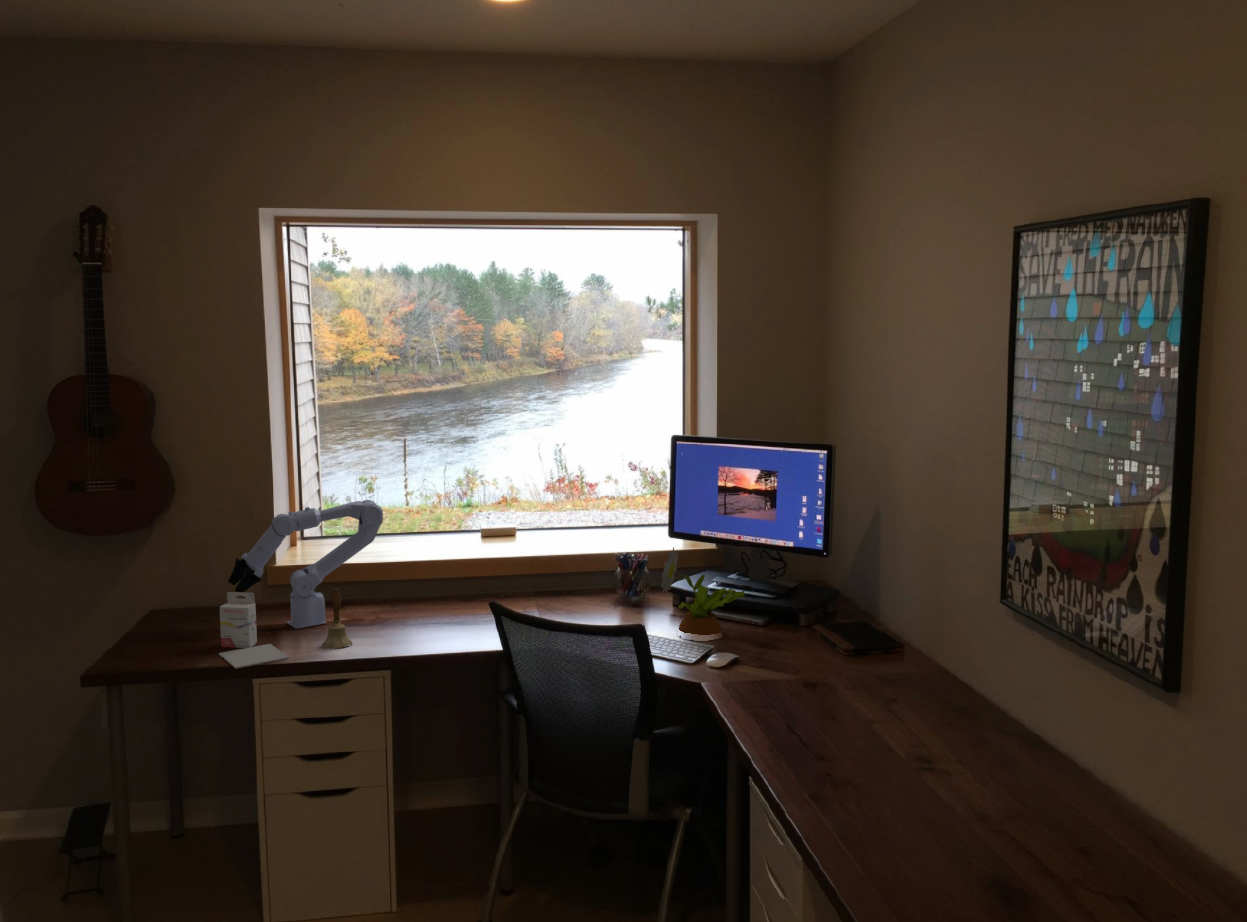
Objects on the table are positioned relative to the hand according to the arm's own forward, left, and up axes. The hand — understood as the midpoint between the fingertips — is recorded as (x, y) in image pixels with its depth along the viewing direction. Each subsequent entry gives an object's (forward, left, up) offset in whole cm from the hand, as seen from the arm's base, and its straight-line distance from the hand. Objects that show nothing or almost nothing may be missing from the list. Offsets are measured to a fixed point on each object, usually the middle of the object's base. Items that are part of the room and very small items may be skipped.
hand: (234, 588), depth 305 cm
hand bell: (-18, +30, -13) cm, 38 cm away
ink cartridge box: (+4, +14, -13) cm, 20 cm away
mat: (+4, +27, -13) cm, 30 cm away
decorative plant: (-104, +86, -13) cm, 136 cm away
